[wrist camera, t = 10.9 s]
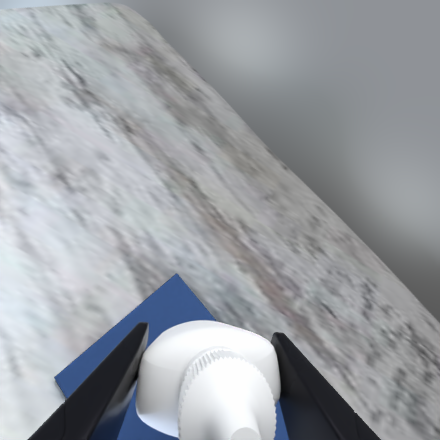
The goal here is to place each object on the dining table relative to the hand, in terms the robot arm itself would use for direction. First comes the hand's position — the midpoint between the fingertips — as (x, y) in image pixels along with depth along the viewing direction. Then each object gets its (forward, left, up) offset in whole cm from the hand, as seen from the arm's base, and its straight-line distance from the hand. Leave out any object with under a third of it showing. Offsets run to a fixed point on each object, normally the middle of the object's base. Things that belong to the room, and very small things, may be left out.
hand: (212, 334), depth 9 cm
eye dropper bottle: (-1, +1, -7) cm, 7 cm away
